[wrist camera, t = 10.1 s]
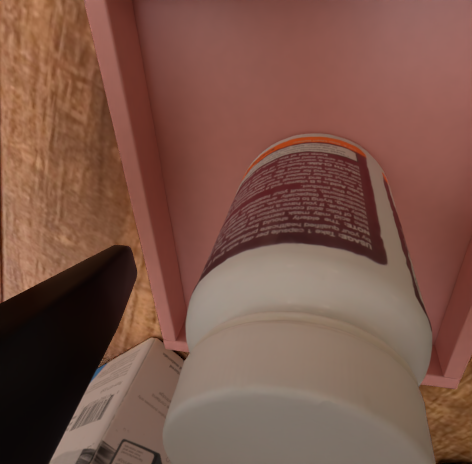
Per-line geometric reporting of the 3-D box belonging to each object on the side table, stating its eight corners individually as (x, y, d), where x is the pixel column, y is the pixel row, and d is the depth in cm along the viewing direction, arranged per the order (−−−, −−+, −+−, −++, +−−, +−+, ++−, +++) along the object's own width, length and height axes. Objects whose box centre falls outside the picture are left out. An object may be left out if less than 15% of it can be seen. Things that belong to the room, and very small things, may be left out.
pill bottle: (213, 202, 13) (87, 442, 6) (310, 94, 11) (273, 307, 4) (313, 280, 14) (295, 561, 7) (424, 200, 12) (556, 519, 5)
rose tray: (443, 346, 15) (457, 390, 14) (180, 315, 18) (164, 349, 16) (596, -71, 8) (663, -83, 6) (114, -33, 10) (74, -35, 9)
